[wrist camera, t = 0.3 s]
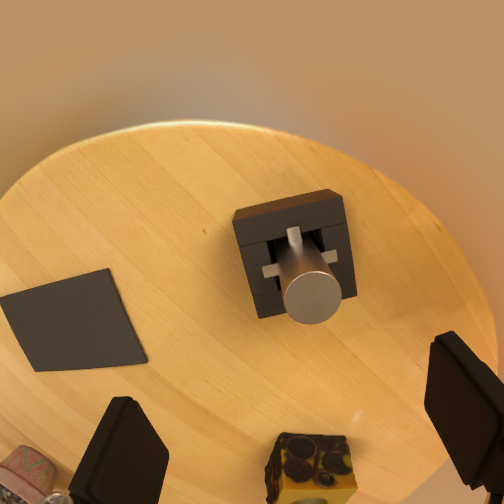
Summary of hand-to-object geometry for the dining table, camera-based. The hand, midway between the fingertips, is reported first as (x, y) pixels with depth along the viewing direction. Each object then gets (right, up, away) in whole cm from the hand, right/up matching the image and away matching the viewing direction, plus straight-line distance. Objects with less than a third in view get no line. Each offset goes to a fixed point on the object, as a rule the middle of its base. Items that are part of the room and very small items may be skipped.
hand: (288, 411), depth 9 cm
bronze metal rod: (+3, +6, +22) cm, 23 cm away
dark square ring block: (+3, +6, +22) cm, 23 cm away
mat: (-24, -5, +25) cm, 36 cm away
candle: (+7, -25, +32) cm, 41 cm away
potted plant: (-48, -40, +37) cm, 73 cm away
